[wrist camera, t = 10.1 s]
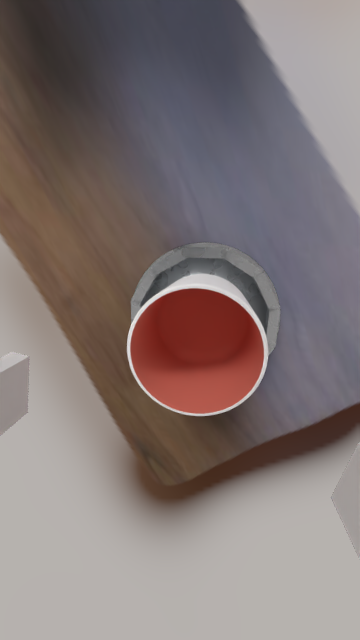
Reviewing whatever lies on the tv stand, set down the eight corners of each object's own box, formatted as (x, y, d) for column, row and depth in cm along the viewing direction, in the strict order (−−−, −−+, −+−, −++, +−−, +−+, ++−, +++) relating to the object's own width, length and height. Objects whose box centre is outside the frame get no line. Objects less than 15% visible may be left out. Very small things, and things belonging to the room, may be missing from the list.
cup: (147, 284, 27) (109, 301, 18) (240, 262, 25) (255, 267, 16) (169, 368, 29) (146, 424, 20) (257, 354, 27) (279, 408, 18)
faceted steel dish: (132, 240, 27) (124, 239, 25) (287, 244, 25) (295, 244, 23) (135, 375, 31) (128, 385, 29) (268, 388, 29) (273, 400, 27)
